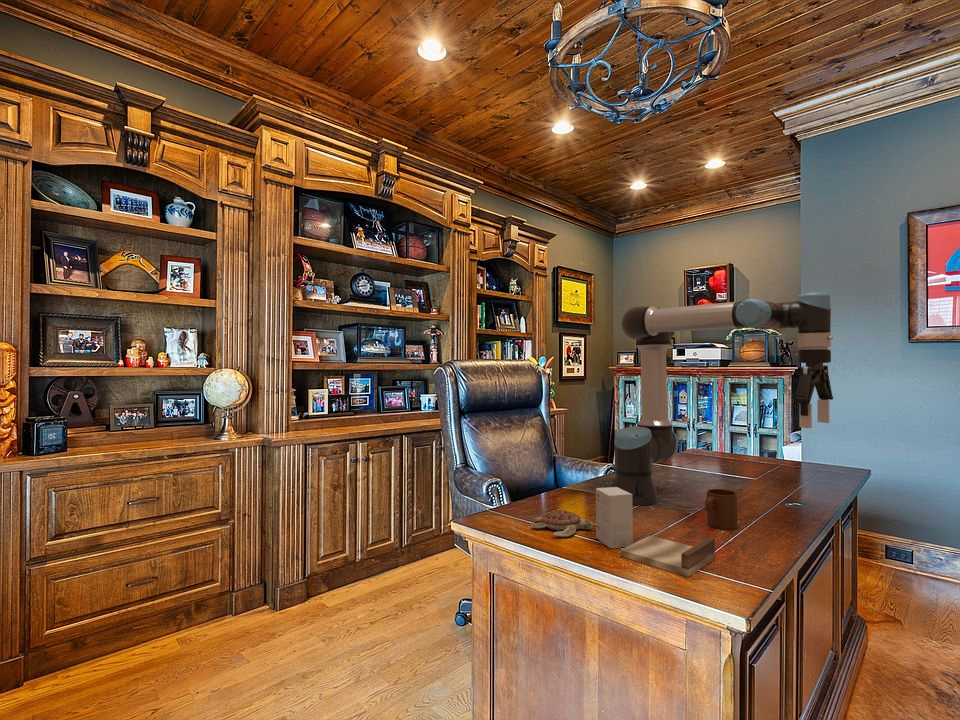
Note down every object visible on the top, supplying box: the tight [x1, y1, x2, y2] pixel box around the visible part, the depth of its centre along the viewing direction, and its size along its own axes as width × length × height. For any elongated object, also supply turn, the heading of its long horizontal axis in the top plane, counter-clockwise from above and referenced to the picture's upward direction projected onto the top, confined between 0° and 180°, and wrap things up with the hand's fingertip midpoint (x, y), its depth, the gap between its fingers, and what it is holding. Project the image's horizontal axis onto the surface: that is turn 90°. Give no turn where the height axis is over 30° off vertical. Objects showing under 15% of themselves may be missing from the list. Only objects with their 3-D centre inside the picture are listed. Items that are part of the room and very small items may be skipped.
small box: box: [595, 486, 634, 549], centre depth 126 cm, size 8×6×13 cm
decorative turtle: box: [531, 510, 594, 538], centre depth 138 cm, size 18×17×5 cm
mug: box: [704, 488, 738, 531], centre depth 137 cm, size 12×8×9 cm, turn 129°
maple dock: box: [620, 535, 716, 578], centre depth 116 cm, size 16×14×4 cm
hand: (814, 425), depth 138 cm, fingers open, 13 cm apart
